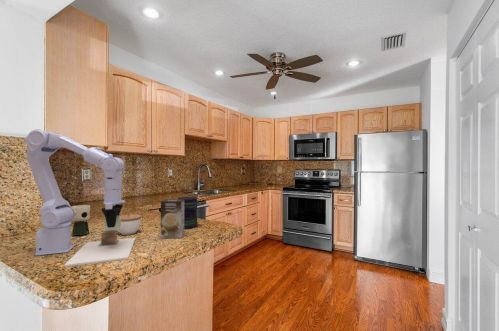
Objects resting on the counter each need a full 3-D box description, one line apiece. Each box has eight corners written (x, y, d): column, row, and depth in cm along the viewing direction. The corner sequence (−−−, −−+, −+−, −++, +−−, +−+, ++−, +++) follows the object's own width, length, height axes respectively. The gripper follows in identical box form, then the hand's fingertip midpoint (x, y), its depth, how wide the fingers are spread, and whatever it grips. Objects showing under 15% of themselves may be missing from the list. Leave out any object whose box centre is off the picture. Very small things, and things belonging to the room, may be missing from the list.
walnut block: (101, 245, 90) (101, 233, 90) (104, 242, 95) (104, 230, 95) (114, 244, 92) (114, 232, 92) (116, 240, 96) (116, 229, 96)
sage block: (104, 230, 86) (104, 218, 86) (107, 227, 90) (107, 215, 90) (118, 229, 87) (118, 217, 87) (120, 226, 92) (120, 215, 92)
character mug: (79, 238, 102) (79, 208, 102) (63, 238, 102) (63, 208, 102) (96, 231, 113) (96, 204, 113) (81, 231, 113) (81, 204, 113)
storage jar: (200, 227, 119) (200, 198, 120) (180, 230, 115) (180, 199, 115) (194, 223, 128) (194, 196, 128) (175, 226, 123) (175, 197, 123)
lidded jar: (131, 229, 117) (131, 210, 117) (146, 231, 112) (146, 212, 112) (109, 234, 108) (109, 214, 108) (125, 237, 103) (125, 216, 103)
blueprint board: (63, 267, 72) (63, 264, 72) (86, 243, 94) (86, 242, 94) (128, 259, 78) (128, 257, 78) (135, 239, 101) (135, 237, 101)
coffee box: (159, 238, 101) (159, 201, 101) (164, 234, 107) (164, 199, 108) (181, 238, 101) (181, 200, 102) (184, 234, 108) (184, 199, 108)
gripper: (121, 190, 83) (121, 229, 83) (127, 187, 97) (127, 220, 97) (98, 191, 81) (98, 231, 81) (108, 188, 95) (107, 222, 94)
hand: (112, 225), depth 89 cm, fingers closed on sage block, 4 cm apart
